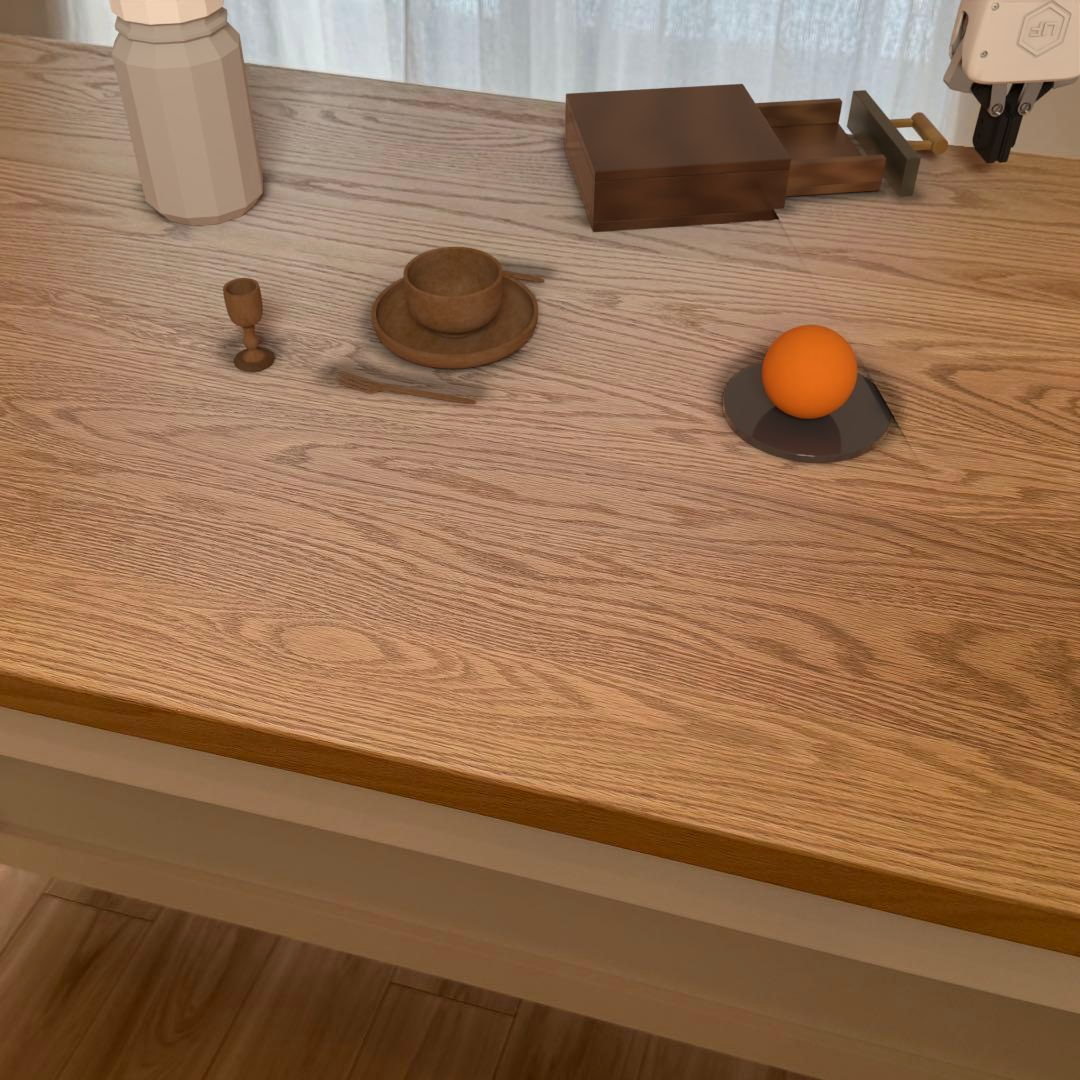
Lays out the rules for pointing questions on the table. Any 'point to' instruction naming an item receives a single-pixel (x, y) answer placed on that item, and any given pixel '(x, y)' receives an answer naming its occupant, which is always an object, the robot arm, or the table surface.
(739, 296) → the table surface
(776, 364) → the orange
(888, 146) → the drawer
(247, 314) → the place setting
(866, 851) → the table surface
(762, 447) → the coaster
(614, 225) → the cabinet
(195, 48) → the jar
